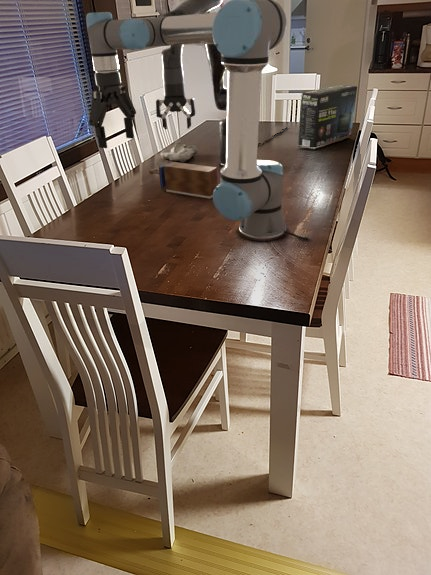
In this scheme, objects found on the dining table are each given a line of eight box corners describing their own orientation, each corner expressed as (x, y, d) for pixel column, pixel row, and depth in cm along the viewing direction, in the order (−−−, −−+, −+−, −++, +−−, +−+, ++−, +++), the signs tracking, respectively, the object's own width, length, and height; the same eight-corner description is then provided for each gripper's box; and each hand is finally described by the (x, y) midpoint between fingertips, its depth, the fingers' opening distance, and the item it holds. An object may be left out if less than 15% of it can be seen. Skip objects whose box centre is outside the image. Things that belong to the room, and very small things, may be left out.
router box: (314, 151, 231) (318, 94, 217) (296, 148, 237) (299, 92, 224) (352, 138, 251) (358, 85, 238) (335, 135, 258) (340, 83, 245)
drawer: (149, 186, 191) (147, 165, 187) (156, 182, 195) (154, 162, 191) (201, 194, 180) (200, 172, 176) (208, 190, 184) (207, 168, 180)
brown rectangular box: (166, 191, 187) (163, 166, 182) (174, 186, 192) (172, 161, 187) (210, 198, 178) (208, 172, 173) (218, 193, 183) (217, 167, 178)
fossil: (184, 156, 217) (163, 136, 220) (174, 174, 223) (154, 154, 227) (205, 153, 231) (186, 134, 234) (195, 171, 237) (176, 152, 240)
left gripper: (194, 79, 166) (196, 125, 175) (155, 80, 167) (159, 127, 175) (192, 82, 160) (195, 130, 168) (152, 83, 161) (156, 131, 169)
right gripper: (123, 66, 150) (131, 133, 161) (68, 76, 131) (81, 150, 142) (141, 67, 147) (149, 135, 158) (87, 76, 128) (100, 153, 139)
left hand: (177, 128), depth 172 cm, fingers open, 8 cm apart
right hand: (117, 142), depth 150 cm, fingers open, 13 cm apart
